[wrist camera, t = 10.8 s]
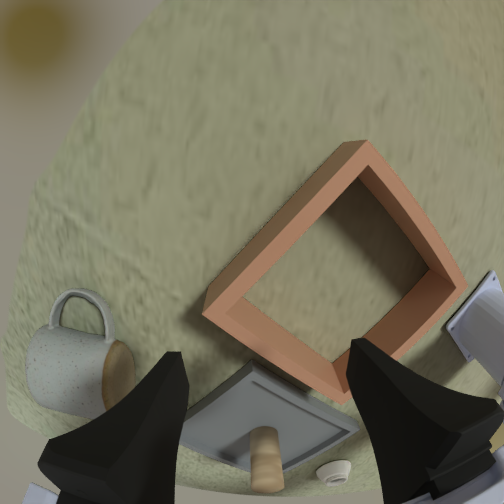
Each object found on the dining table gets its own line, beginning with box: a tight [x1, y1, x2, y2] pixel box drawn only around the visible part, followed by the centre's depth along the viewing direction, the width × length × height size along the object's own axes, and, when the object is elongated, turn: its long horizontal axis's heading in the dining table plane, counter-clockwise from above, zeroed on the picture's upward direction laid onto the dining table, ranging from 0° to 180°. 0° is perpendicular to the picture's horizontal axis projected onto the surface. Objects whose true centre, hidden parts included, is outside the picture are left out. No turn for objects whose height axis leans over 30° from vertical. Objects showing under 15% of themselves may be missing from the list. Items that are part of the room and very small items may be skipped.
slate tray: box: [179, 360, 360, 473], centre depth 26 cm, size 16×14×2 cm
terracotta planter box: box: [202, 140, 468, 405], centre depth 19 cm, size 14×14×4 cm
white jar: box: [316, 460, 351, 486], centre depth 30 cm, size 5×3×5 cm
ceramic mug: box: [25, 288, 135, 419], centre depth 19 cm, size 11×8×8 cm
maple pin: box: [250, 426, 284, 493], centre depth 23 cm, size 3×3×7 cm
